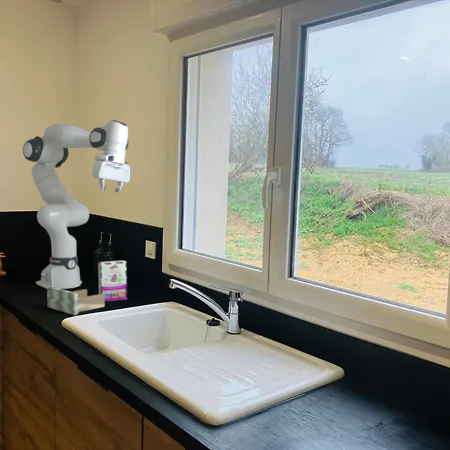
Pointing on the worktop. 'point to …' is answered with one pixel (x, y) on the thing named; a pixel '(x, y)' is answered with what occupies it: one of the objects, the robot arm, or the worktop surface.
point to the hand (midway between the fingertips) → (110, 191)
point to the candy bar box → (113, 280)
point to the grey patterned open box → (73, 300)
